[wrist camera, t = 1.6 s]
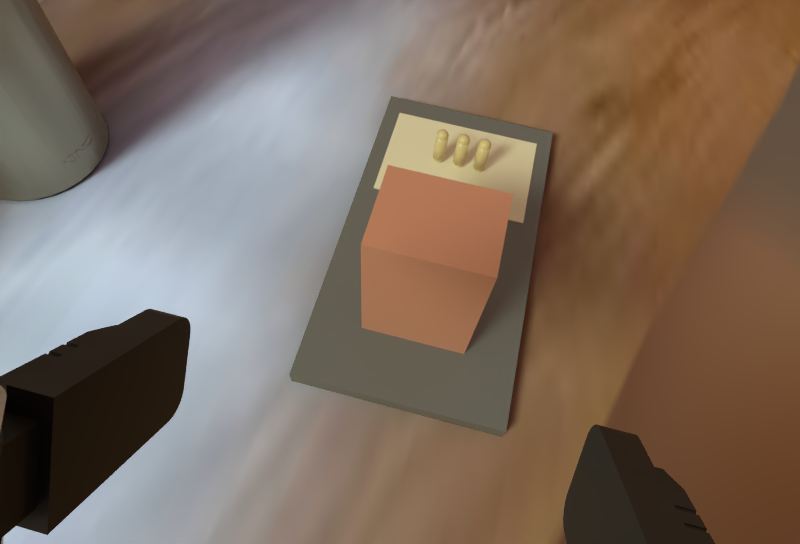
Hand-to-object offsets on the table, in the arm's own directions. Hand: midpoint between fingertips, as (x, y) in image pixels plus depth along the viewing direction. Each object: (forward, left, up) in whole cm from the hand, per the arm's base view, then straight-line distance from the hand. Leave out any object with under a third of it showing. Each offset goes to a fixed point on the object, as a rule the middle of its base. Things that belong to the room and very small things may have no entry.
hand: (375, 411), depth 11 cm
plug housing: (0, +12, -19) cm, 22 cm away
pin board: (0, +17, -20) cm, 26 cm away
